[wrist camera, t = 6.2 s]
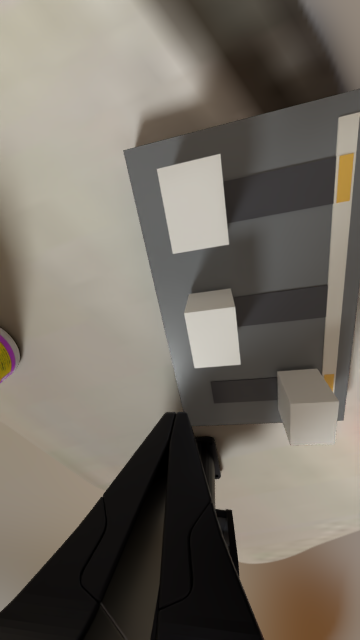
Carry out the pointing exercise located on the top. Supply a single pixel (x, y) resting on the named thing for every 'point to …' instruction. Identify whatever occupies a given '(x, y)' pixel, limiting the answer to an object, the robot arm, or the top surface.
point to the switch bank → (264, 253)
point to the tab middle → (212, 328)
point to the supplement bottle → (8, 355)
